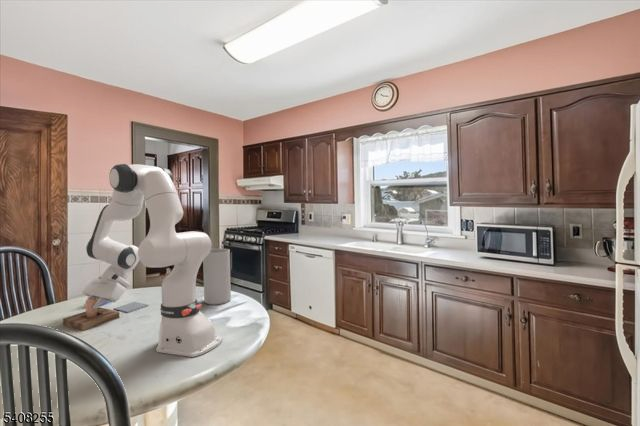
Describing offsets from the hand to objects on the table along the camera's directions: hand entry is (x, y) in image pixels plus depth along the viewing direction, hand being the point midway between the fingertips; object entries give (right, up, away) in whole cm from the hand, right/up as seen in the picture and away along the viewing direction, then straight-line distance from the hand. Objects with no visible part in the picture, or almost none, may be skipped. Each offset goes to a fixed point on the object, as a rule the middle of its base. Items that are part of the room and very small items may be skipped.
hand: (89, 307), depth 130 cm
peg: (0, -6, +1) cm, 6 cm away
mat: (+7, -5, +16) cm, 19 cm away
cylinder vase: (+45, -4, +25) cm, 52 cm away
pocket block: (0, -6, +1) cm, 6 cm away
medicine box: (-10, -5, +22) cm, 25 cm away
